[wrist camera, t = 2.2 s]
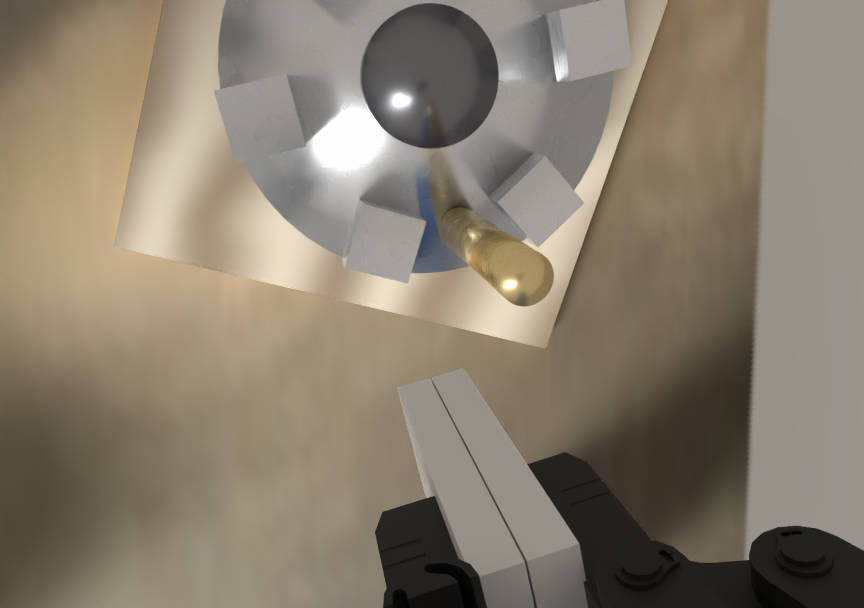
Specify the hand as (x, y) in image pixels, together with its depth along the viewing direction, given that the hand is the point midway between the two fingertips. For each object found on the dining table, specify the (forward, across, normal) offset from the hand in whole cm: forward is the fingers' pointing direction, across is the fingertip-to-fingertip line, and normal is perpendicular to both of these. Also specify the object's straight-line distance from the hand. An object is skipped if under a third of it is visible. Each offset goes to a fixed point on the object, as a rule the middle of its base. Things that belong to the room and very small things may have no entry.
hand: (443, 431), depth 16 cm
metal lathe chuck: (+23, -5, -7) cm, 24 cm away
